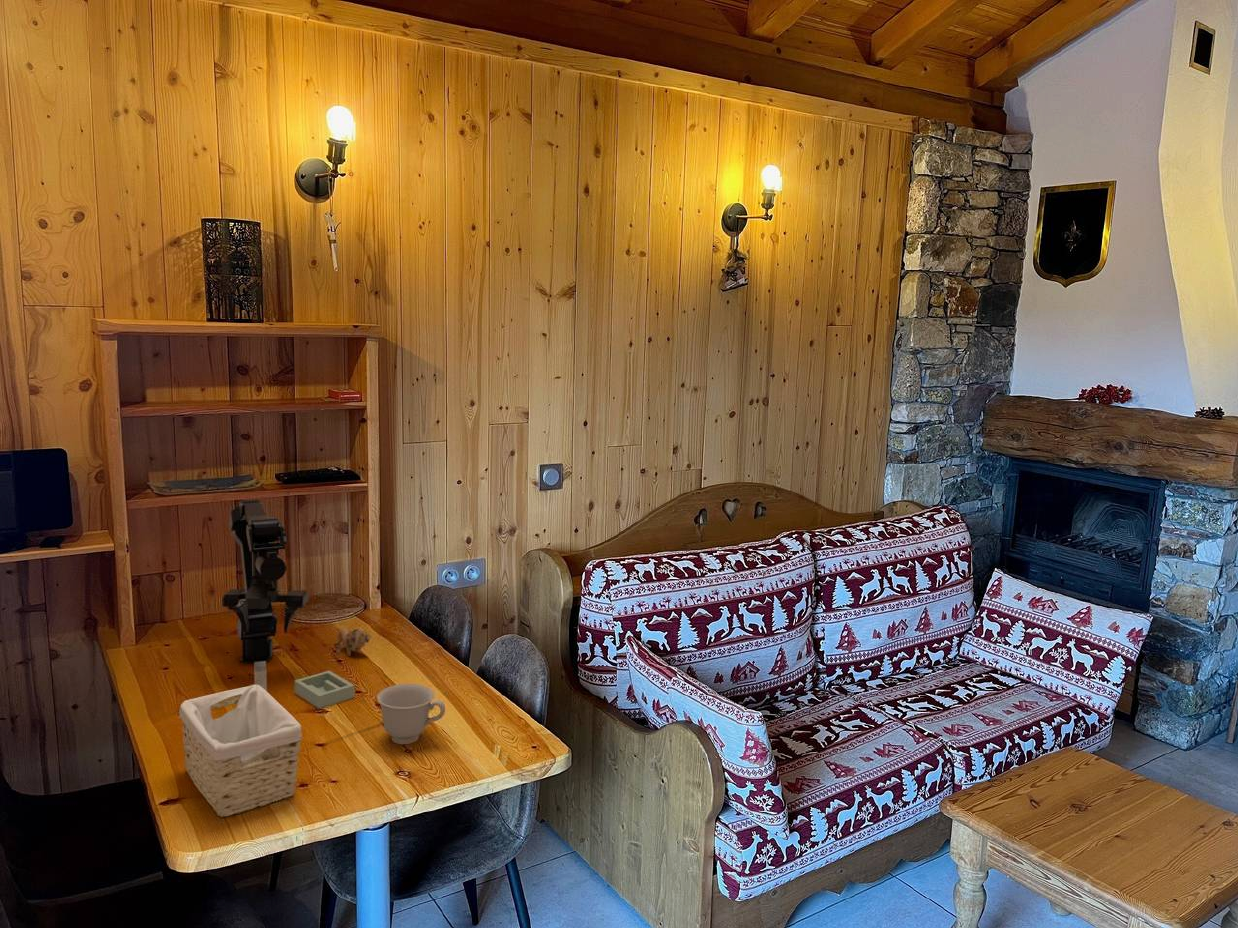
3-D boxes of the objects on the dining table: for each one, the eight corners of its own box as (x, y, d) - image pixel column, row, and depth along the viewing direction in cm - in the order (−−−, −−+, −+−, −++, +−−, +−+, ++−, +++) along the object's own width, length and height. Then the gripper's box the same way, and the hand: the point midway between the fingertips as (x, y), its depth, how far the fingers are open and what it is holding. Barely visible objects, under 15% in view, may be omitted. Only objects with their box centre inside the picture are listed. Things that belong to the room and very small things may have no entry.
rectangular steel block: (254, 707, 206) (254, 661, 204) (266, 706, 207) (265, 660, 205) (255, 717, 201) (254, 670, 199) (266, 716, 202) (266, 669, 200)
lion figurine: (373, 661, 237) (373, 628, 235) (355, 666, 233) (355, 633, 231) (342, 644, 246) (342, 613, 244) (324, 649, 242) (324, 617, 241)
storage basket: (178, 769, 180) (176, 699, 177) (261, 746, 190) (260, 680, 188) (216, 825, 162) (214, 749, 160) (305, 797, 173) (305, 725, 170)
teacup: (432, 757, 190) (433, 712, 188) (366, 746, 193) (367, 702, 191) (454, 731, 202) (455, 689, 200) (391, 721, 204) (392, 680, 203)
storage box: (294, 696, 213) (294, 680, 212) (329, 685, 219) (329, 670, 219) (319, 712, 206) (319, 696, 205) (354, 701, 212) (354, 685, 211)
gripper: (213, 578, 209) (214, 643, 211) (296, 580, 211) (297, 644, 213) (229, 566, 220) (230, 627, 222) (308, 567, 222) (308, 628, 224)
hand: (266, 632), depth 220 cm, fingers open, 9 cm apart
